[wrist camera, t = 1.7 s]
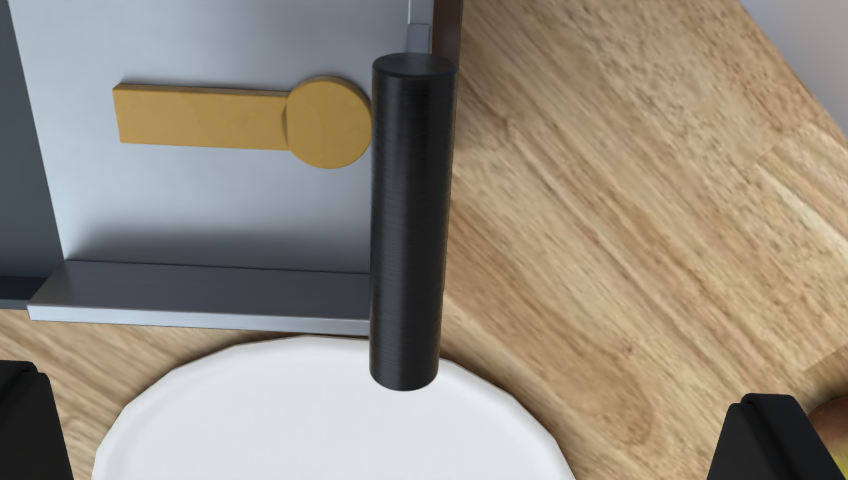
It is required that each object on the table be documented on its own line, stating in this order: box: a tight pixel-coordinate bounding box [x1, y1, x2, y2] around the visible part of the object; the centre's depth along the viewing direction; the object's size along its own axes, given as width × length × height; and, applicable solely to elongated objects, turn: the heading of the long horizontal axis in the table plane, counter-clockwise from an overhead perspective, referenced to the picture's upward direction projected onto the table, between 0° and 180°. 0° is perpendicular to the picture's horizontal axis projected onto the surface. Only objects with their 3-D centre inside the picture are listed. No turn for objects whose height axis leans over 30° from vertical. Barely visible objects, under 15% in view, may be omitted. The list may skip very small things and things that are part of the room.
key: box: [112, 76, 371, 169], centre depth 21 cm, size 3×7×1 cm, turn 88°
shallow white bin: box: [7, 0, 458, 392], centre depth 19 cm, size 12×11×8 cm
